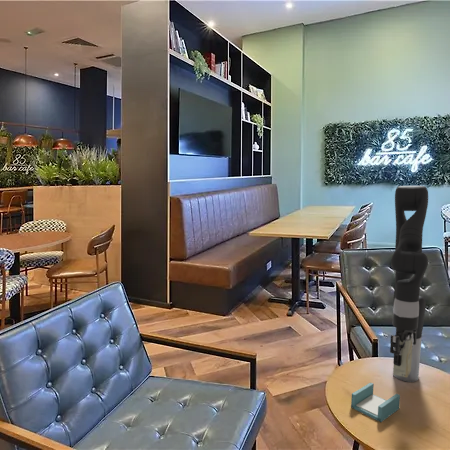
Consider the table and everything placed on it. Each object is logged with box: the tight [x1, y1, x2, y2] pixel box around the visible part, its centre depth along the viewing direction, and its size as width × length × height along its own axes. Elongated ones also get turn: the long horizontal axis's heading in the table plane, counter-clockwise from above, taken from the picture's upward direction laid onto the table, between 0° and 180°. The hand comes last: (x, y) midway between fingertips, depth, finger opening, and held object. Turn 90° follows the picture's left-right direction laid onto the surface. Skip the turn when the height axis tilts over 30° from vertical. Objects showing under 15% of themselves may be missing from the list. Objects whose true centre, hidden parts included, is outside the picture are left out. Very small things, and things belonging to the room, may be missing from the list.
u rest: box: [350, 382, 401, 423], centre depth 141 cm, size 12×11×5 cm
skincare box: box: [392, 338, 412, 378], centre depth 135 cm, size 6×4×12 cm
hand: (402, 361), depth 136 cm, fingers closed on skincare box, 7 cm apart
